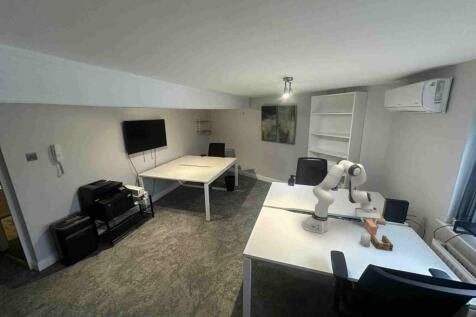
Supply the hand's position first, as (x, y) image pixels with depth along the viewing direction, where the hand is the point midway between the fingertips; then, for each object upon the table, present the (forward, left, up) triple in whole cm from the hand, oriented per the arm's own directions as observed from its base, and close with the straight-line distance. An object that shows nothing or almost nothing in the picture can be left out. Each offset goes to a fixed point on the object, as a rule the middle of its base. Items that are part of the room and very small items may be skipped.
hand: (369, 223), depth 172 cm
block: (0, -4, -5) cm, 7 cm away
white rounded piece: (-12, -25, -5) cm, 28 cm away
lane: (0, -23, -5) cm, 23 cm away
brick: (+15, +17, -6) cm, 24 cm away
